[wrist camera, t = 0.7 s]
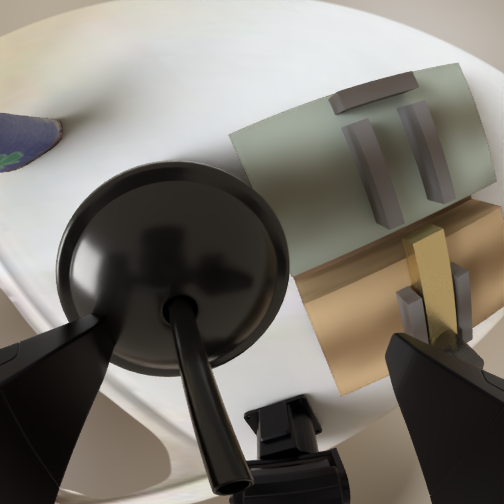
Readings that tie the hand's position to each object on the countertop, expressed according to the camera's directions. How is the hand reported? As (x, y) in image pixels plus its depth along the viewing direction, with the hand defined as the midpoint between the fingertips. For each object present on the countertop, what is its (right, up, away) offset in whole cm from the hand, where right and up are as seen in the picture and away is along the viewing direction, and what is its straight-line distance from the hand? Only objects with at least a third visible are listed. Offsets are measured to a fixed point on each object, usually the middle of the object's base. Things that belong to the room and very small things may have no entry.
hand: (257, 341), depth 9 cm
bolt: (+12, 0, +10) cm, 15 cm away
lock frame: (+10, +5, +13) cm, 18 cm away
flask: (-20, +12, +11) cm, 26 cm away
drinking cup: (-7, +7, +12) cm, 16 cm away
